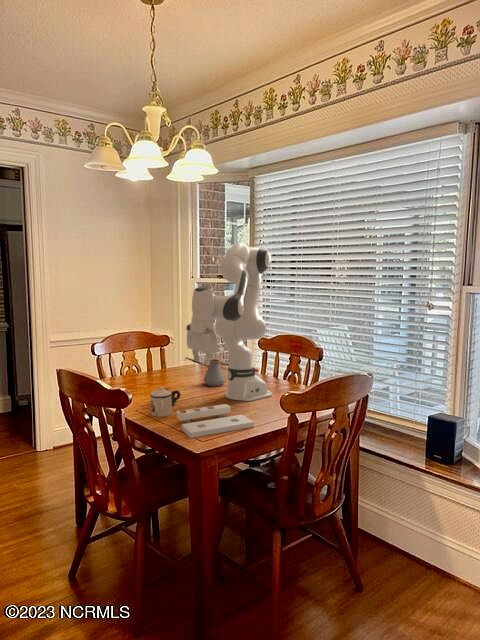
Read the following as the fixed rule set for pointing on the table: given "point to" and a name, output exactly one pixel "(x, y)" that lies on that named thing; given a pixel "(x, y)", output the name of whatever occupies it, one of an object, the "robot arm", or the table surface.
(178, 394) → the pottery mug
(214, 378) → the coffee pot
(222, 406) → the power strip
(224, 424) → the plate
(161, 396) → the teacup with lid
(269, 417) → the table surface
